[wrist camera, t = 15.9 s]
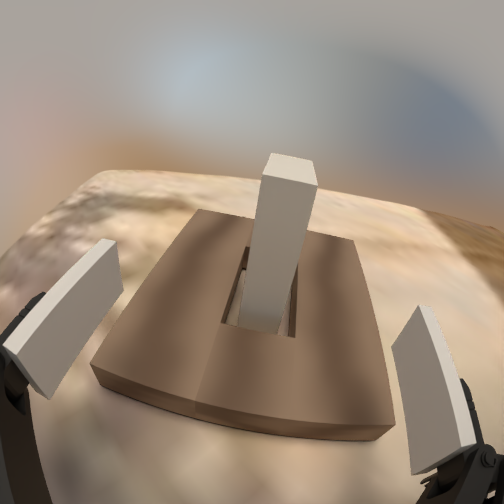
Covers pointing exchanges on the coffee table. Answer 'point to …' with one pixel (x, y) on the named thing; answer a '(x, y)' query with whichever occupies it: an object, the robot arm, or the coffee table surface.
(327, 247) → the brown slotted base plate
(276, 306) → the tall cream pillar
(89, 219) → the coffee table surface
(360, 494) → the coffee table surface
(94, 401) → the coffee table surface
